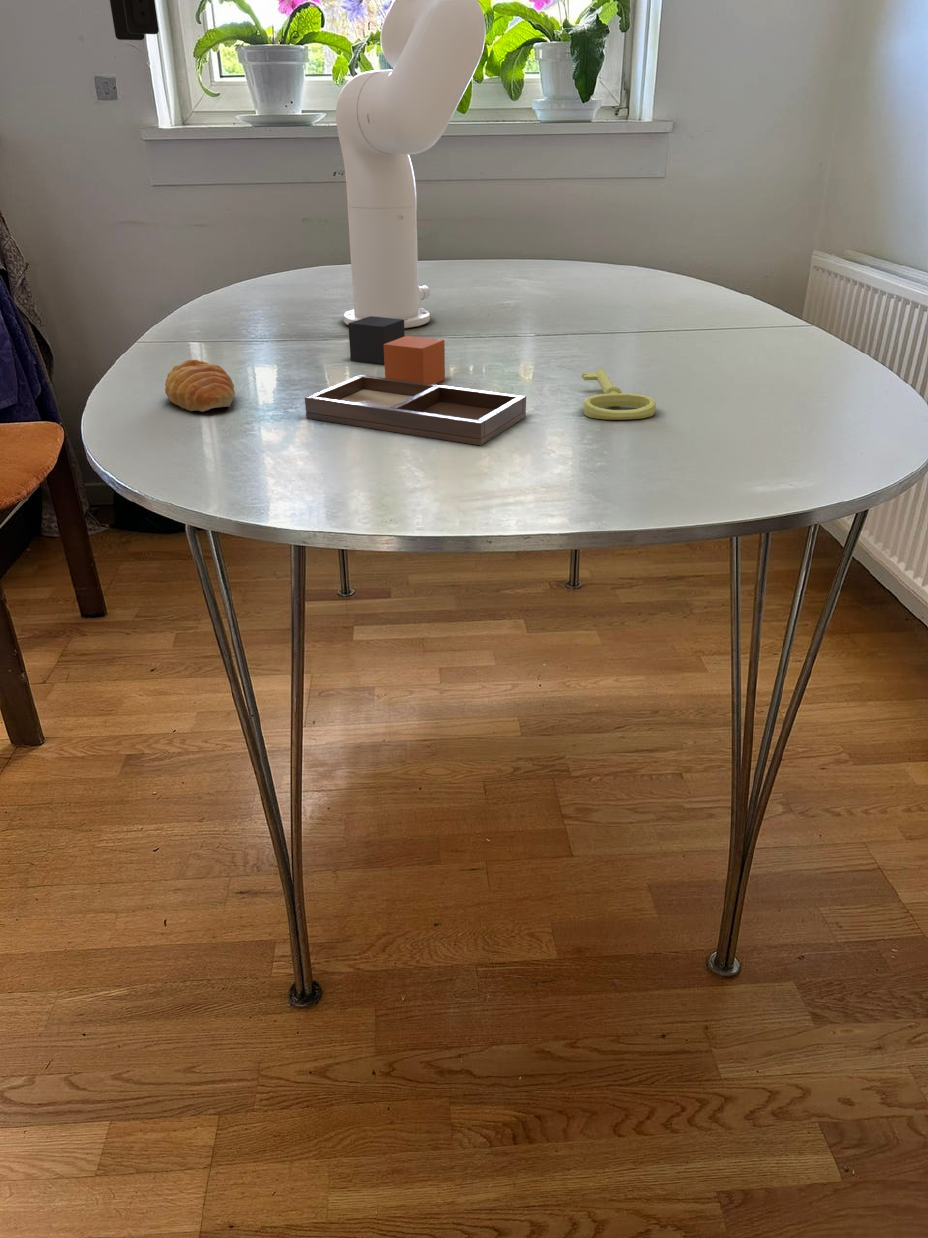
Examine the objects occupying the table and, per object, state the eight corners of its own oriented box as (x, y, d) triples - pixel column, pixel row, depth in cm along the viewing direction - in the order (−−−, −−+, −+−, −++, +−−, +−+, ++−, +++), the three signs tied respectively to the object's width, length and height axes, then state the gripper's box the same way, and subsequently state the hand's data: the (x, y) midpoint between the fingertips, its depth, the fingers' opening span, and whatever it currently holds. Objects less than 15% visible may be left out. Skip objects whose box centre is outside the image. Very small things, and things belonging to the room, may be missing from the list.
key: (601, 386, 102) (602, 367, 101) (663, 416, 92) (665, 395, 91) (543, 393, 99) (544, 374, 98) (601, 425, 89) (602, 403, 88)
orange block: (407, 374, 107) (406, 335, 105) (445, 379, 105) (444, 339, 103) (385, 384, 103) (383, 343, 101) (423, 389, 101) (422, 348, 99)
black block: (372, 352, 117) (370, 315, 115) (405, 356, 115) (404, 319, 113) (350, 360, 113) (347, 322, 111) (384, 364, 111) (383, 326, 109)
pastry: (251, 409, 95) (246, 372, 93) (186, 420, 92) (180, 382, 90) (222, 389, 102) (217, 354, 100) (161, 398, 99) (154, 362, 97)
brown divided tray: (361, 393, 100) (360, 374, 99) (525, 416, 92) (526, 396, 91) (306, 418, 92) (304, 397, 91) (480, 445, 84) (480, 423, 83)
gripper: (158, -176, 89) (185, 31, 98) (132, -137, 103) (157, 42, 111) (77, -185, 87) (112, 30, 95) (61, -144, 100) (93, 40, 109)
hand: (136, 36), depth 103 cm, fingers open, 9 cm apart
